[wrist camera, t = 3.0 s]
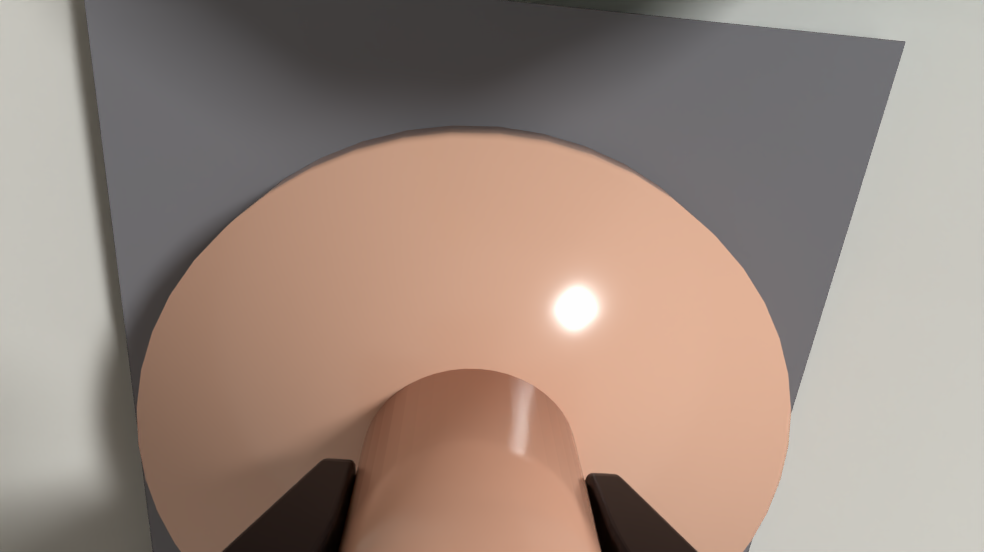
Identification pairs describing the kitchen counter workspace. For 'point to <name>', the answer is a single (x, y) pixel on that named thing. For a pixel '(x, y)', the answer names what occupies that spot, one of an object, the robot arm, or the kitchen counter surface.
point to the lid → (465, 354)
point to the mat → (481, 122)
